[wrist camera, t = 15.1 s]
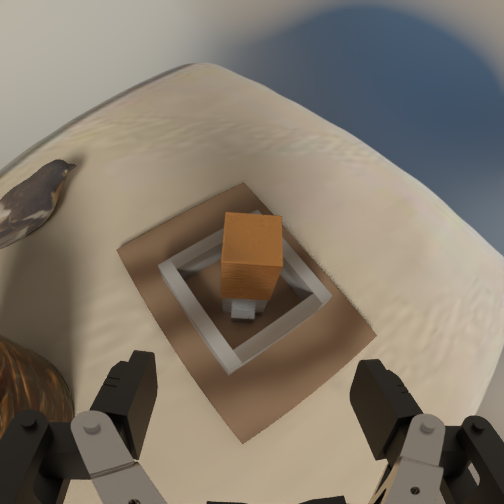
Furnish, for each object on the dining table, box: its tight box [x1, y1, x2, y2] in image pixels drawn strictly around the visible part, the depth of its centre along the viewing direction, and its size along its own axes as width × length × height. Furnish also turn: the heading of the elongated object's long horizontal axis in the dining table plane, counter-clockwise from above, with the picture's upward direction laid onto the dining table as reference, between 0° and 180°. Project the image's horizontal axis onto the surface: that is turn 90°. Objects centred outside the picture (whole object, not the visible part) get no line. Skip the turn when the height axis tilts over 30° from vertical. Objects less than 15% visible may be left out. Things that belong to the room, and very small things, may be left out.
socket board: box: [117, 183, 377, 444], centre depth 28 cm, size 22×16×4 cm
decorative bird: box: [0, 160, 76, 249], centre depth 28 cm, size 6×25×5 cm, turn 144°
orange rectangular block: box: [221, 212, 283, 323], centre depth 25 cm, size 5×4×10 cm
